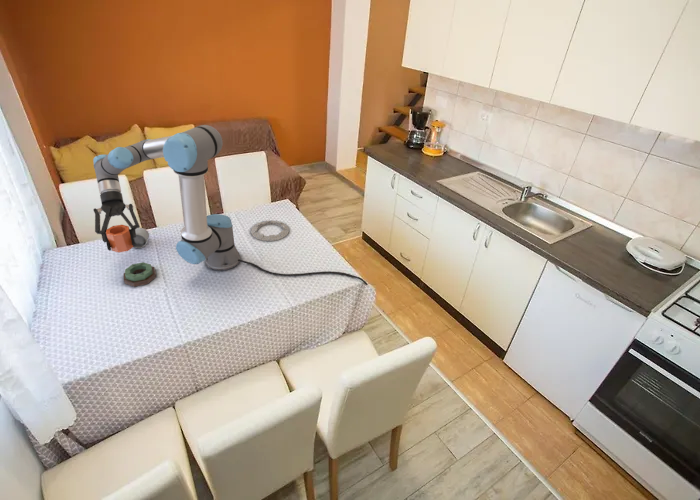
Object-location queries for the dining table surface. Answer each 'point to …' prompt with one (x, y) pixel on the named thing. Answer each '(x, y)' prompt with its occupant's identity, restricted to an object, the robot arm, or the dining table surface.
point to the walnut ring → (140, 282)
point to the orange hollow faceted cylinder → (119, 238)
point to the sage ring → (142, 275)
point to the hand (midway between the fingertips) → (121, 247)
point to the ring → (270, 237)
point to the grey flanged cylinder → (141, 237)
